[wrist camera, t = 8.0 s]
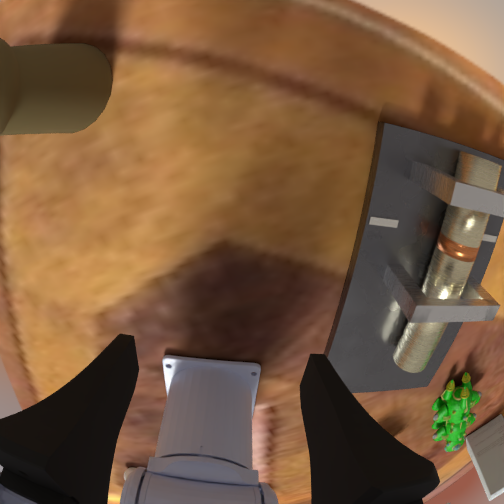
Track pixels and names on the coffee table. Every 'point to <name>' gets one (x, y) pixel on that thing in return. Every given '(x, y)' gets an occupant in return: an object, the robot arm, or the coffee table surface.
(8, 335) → the coffee table surface
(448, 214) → the brass tube
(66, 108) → the cork
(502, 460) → the supplement box
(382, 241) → the collar base
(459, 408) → the green bumpy long piece
